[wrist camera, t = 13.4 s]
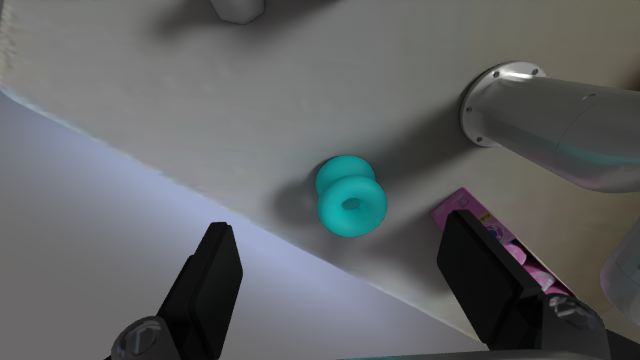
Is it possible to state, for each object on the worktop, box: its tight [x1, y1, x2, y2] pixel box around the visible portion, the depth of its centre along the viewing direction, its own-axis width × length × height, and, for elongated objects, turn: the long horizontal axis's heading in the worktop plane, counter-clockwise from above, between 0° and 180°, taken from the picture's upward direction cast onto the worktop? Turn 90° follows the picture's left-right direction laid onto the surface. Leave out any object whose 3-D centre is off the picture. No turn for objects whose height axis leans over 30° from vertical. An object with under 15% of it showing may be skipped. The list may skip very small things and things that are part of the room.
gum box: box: [430, 187, 578, 299], centre depth 45 cm, size 24×8×14 cm, turn 49°
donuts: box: [316, 155, 387, 237], centre depth 40 cm, size 10×10×10 cm
